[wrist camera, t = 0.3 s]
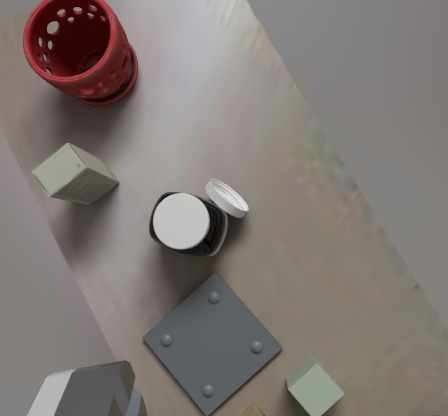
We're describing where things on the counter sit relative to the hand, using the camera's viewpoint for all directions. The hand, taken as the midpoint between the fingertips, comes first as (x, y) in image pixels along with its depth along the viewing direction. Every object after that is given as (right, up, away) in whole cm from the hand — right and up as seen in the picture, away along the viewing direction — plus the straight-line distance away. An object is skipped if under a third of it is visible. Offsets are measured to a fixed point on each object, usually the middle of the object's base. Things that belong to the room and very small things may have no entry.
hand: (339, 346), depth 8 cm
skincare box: (-22, +6, +56) cm, 60 cm away
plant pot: (-21, +24, +58) cm, 66 cm away
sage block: (+10, -21, +50) cm, 55 cm away
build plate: (-4, -16, +52) cm, 54 cm away
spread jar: (-5, +1, +54) cm, 54 cm away
